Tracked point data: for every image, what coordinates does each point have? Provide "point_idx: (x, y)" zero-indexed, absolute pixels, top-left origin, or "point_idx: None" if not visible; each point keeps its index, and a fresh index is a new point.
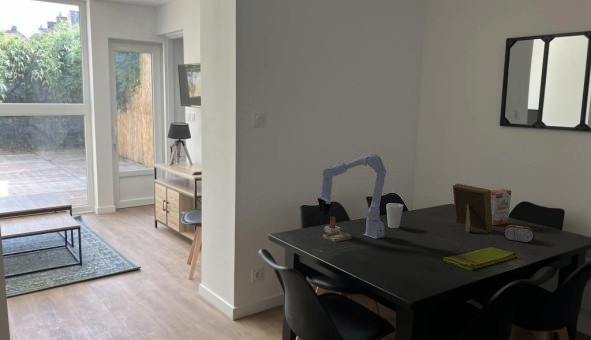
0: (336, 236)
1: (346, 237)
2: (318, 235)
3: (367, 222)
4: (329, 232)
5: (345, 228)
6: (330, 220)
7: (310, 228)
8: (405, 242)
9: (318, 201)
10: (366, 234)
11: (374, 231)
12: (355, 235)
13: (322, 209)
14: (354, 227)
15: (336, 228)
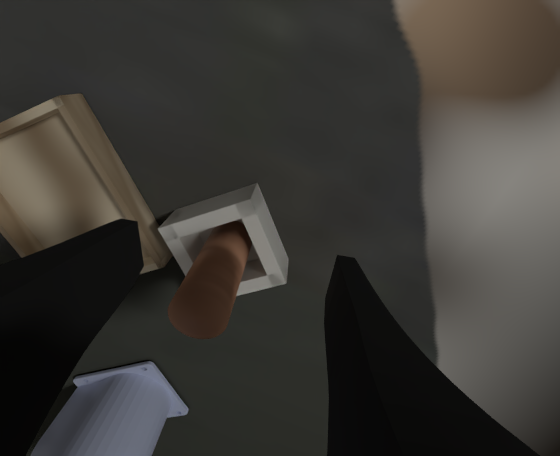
0: (100, 213)
1: (25, 252)
2: (163, 92)
3: (80, 451)
4: (197, 205)
5: (300, 342)
6: (196, 273)
7: (395, 107)
8: (37, 439)
9: (430, 397)
10: (129, 374)
11: (69, 413)
12: (146, 328)
13: (329, 309)
14: (305, 386)
15: (181, 268)
